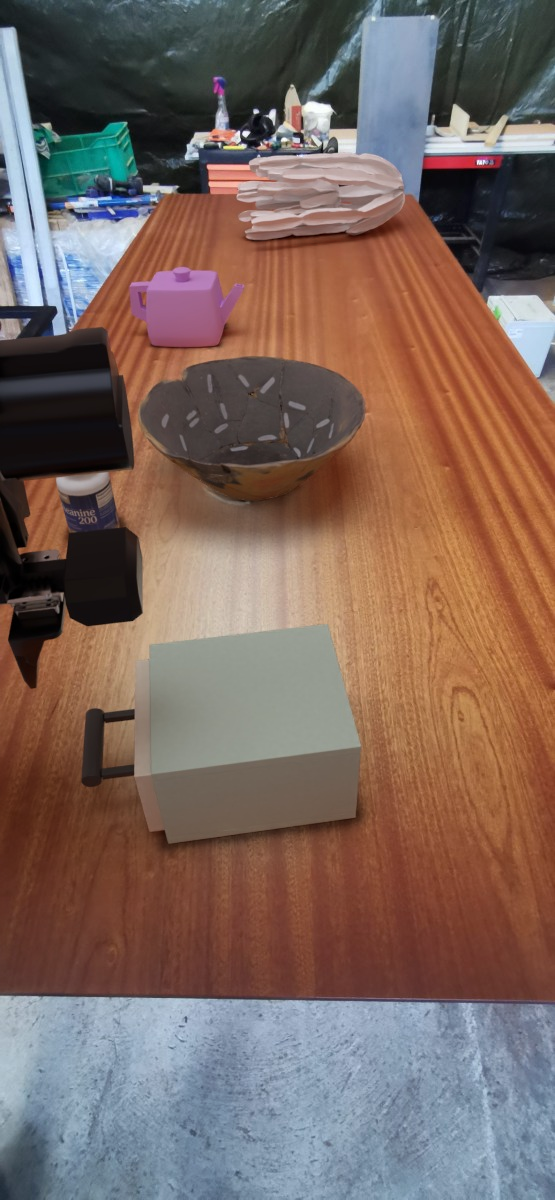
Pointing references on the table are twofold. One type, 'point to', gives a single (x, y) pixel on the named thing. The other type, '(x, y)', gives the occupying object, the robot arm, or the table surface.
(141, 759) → the drawer
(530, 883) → the table surface
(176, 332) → the teapot
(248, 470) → the bowl
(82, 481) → the pill bottle
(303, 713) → the cabinet
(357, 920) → the table surface
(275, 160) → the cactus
